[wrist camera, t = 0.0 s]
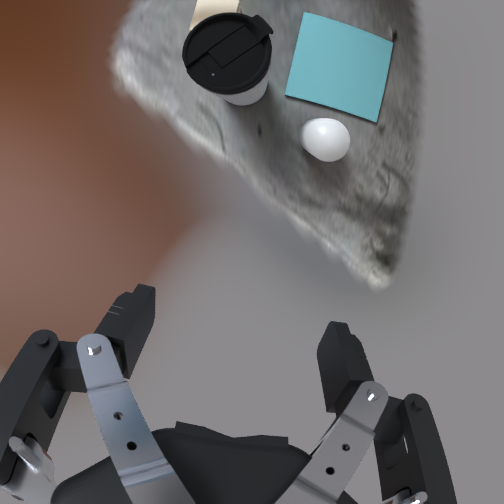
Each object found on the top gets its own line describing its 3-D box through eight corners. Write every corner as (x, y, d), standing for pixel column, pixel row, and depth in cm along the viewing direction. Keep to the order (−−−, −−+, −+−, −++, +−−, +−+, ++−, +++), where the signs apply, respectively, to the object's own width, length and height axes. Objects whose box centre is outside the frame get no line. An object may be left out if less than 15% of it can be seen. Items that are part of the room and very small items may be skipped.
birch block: (206, 10, 28) (198, -3, 24) (242, 13, 28) (239, 0, 24) (197, 39, 30) (189, 30, 26) (234, 43, 31) (230, 33, 26)
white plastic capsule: (303, 114, 35) (312, 113, 28) (338, 124, 35) (354, 125, 29) (295, 149, 37) (302, 155, 31) (330, 158, 37) (343, 166, 31)
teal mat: (303, 13, 28) (304, 11, 27) (391, 43, 29) (393, 42, 28) (284, 94, 34) (284, 94, 33) (374, 122, 34) (376, 122, 34)
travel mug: (278, 87, 33) (296, 54, 15) (238, 114, 35) (214, 109, 17) (250, 52, 31) (238, -8, 13) (209, 80, 33) (160, 47, 15)
